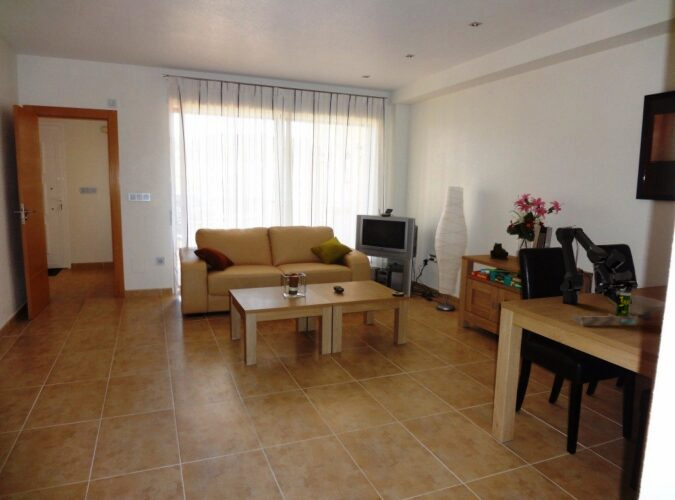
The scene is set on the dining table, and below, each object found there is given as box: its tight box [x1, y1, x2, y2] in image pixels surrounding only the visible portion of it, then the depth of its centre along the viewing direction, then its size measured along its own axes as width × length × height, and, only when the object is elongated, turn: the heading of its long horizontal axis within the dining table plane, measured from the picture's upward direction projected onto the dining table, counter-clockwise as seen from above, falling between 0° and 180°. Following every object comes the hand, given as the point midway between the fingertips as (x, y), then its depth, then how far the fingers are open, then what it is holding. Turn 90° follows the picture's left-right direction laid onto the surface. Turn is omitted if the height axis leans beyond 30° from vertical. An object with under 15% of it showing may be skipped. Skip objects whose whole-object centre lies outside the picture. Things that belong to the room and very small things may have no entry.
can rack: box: [571, 313, 639, 327], centre depth 204 cm, size 24×9×4 cm, turn 89°
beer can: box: [614, 289, 632, 316], centre depth 203 cm, size 5×5×12 cm
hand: (625, 304), depth 202 cm, fingers closed on beer can, 5 cm apart
